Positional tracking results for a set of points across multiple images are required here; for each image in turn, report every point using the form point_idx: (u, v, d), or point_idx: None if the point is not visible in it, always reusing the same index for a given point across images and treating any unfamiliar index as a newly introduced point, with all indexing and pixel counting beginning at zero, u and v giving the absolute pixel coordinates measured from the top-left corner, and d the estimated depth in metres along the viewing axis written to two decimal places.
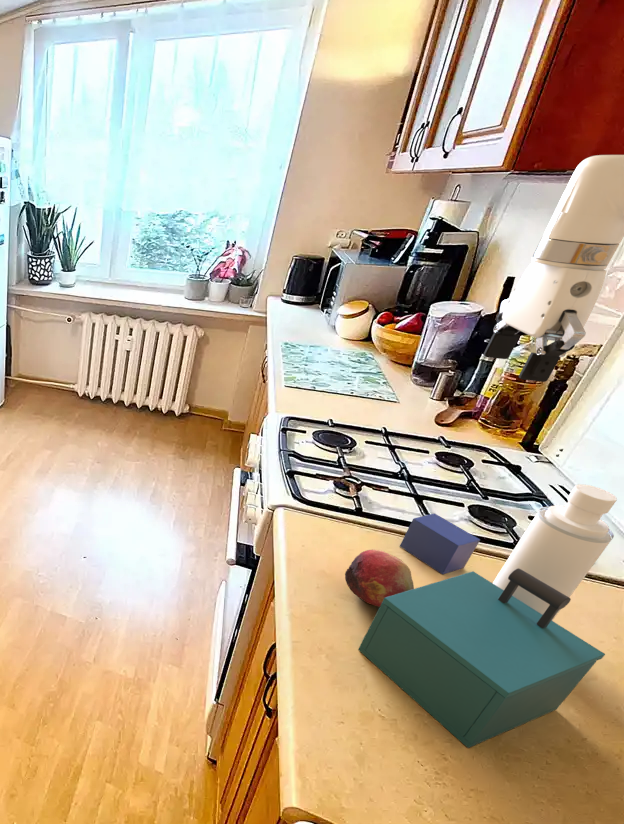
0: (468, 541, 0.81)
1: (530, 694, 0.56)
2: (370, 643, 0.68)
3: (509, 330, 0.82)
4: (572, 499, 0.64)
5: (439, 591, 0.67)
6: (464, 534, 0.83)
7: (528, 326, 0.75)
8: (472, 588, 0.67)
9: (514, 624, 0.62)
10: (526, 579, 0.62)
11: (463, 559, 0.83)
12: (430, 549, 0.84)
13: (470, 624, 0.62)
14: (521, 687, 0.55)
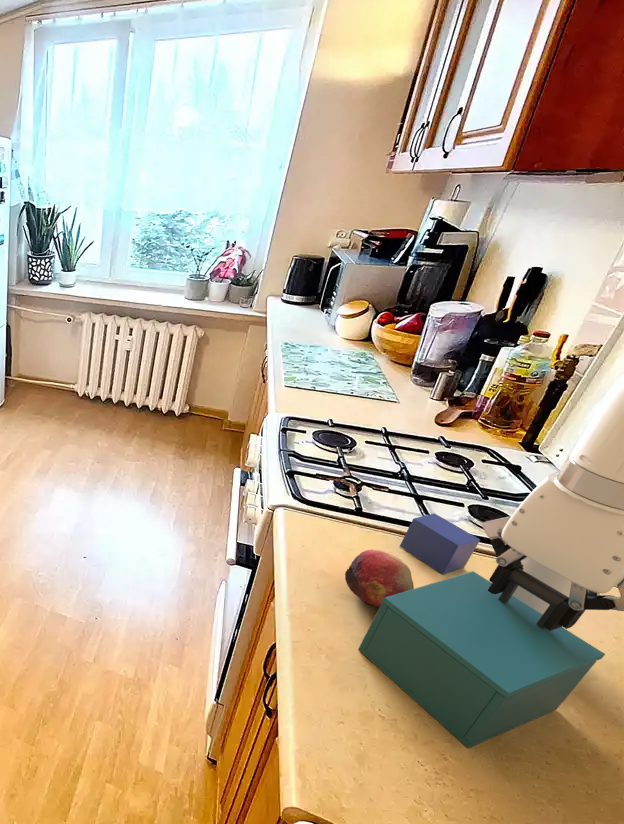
0: (468, 541, 0.81)
1: (530, 694, 0.56)
2: (370, 643, 0.68)
3: (516, 563, 0.64)
4: None
5: (439, 591, 0.67)
6: (464, 534, 0.83)
7: (574, 575, 0.57)
8: (472, 588, 0.67)
9: (514, 624, 0.62)
10: (526, 579, 0.62)
11: (463, 559, 0.83)
12: (430, 549, 0.84)
13: (470, 624, 0.62)
14: (521, 687, 0.55)
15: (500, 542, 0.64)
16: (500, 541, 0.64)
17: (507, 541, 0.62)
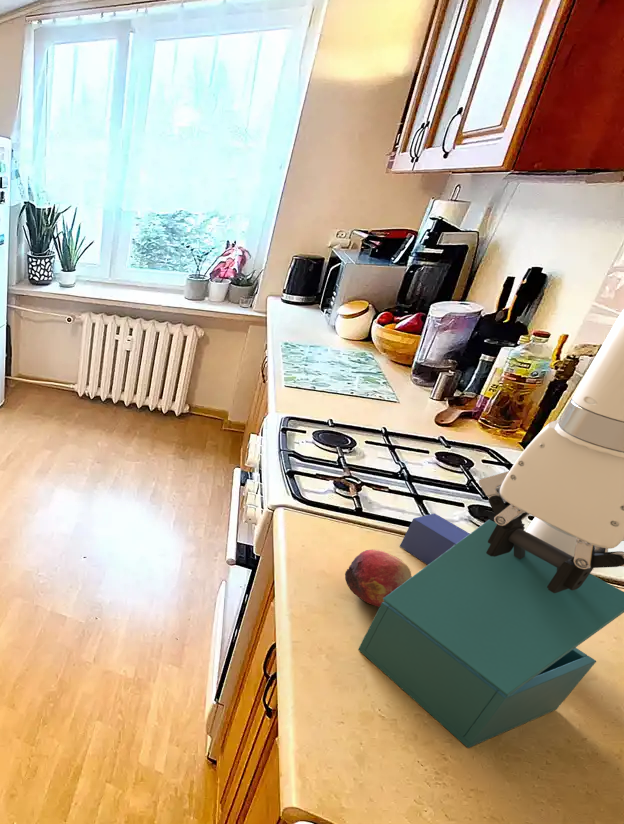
0: None
1: (530, 694, 0.56)
2: (370, 643, 0.68)
3: (516, 522, 0.59)
4: None
5: (445, 566, 0.64)
6: (464, 534, 0.83)
7: (579, 529, 0.52)
8: (484, 548, 0.63)
9: (528, 589, 0.58)
10: (524, 543, 0.58)
11: None
12: (430, 549, 0.84)
13: (475, 606, 0.60)
14: (523, 681, 0.54)
15: (498, 500, 0.59)
16: (498, 498, 0.59)
17: (506, 497, 0.58)
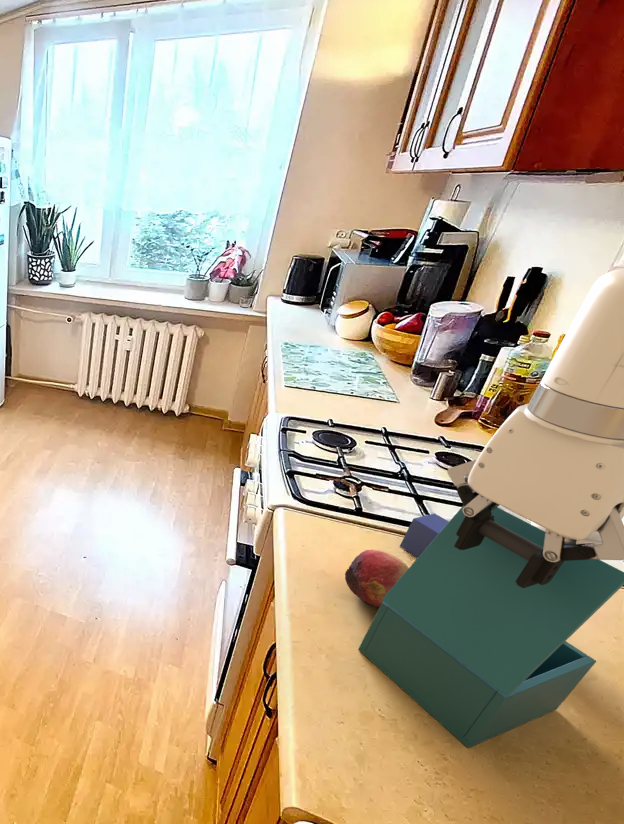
0: None
1: (530, 694, 0.56)
2: (370, 643, 0.68)
3: (485, 513, 0.55)
4: None
5: (435, 557, 0.62)
6: None
7: (548, 520, 0.49)
8: None
9: (517, 574, 0.56)
10: (493, 538, 0.55)
11: None
12: None
13: (468, 599, 0.58)
14: (519, 681, 0.53)
15: (467, 489, 0.56)
16: (467, 488, 0.56)
17: (474, 487, 0.54)
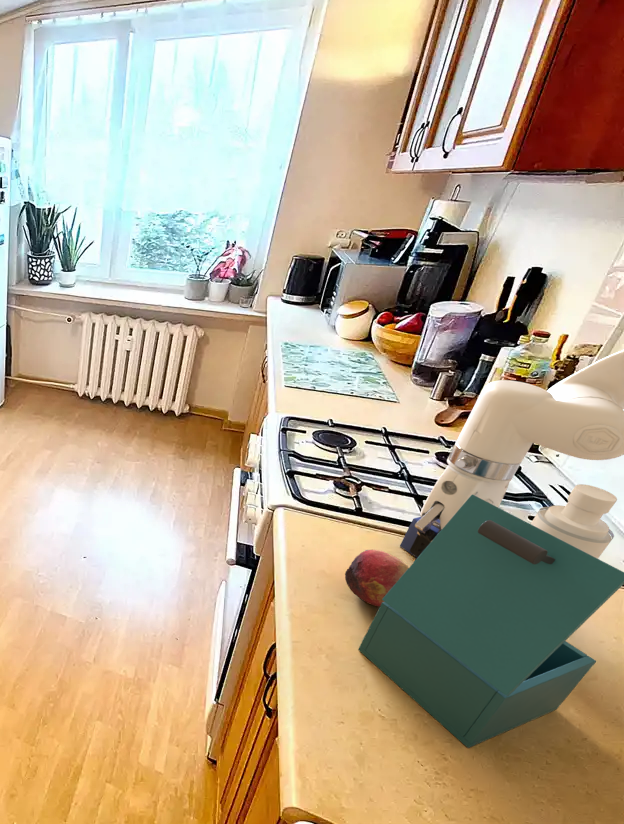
0: None
1: (530, 694, 0.56)
2: (370, 643, 0.68)
3: None
4: (572, 499, 0.64)
5: (434, 556, 0.62)
6: None
7: None
8: (470, 531, 0.60)
9: (517, 574, 0.56)
10: (492, 538, 0.55)
11: None
12: None
13: (467, 599, 0.58)
14: (519, 681, 0.53)
15: None
16: None
17: None
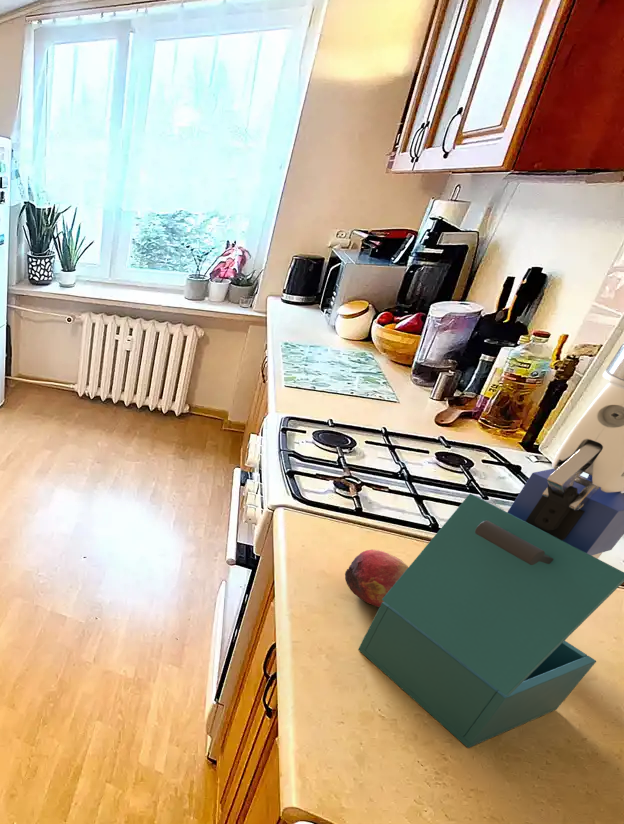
0: None
1: (530, 694, 0.56)
2: (370, 643, 0.68)
3: None
4: None
5: (433, 556, 0.62)
6: (619, 495, 0.53)
7: None
8: (468, 530, 0.60)
9: (515, 574, 0.55)
10: (489, 539, 0.54)
11: (616, 535, 0.53)
12: None
13: (467, 599, 0.58)
14: (519, 681, 0.53)
15: None
16: None
17: None
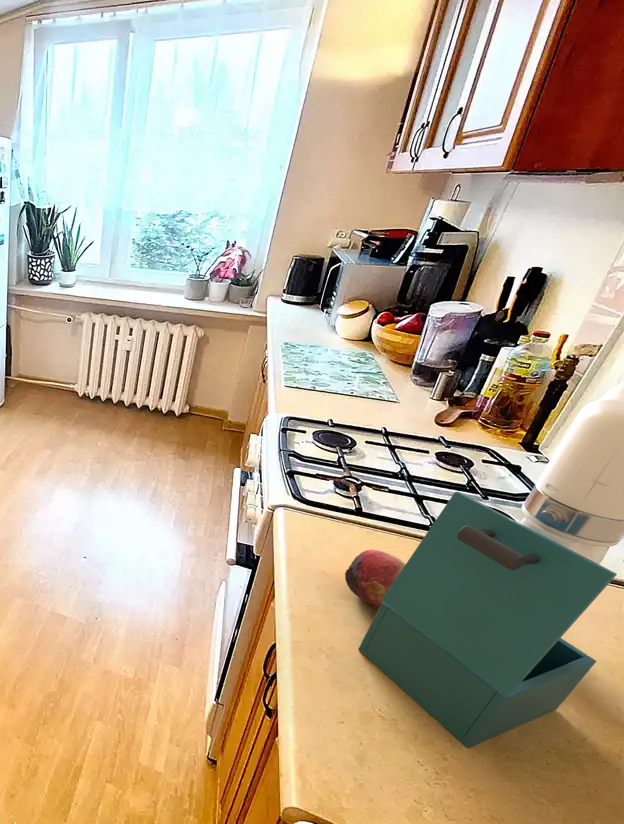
0: None
1: (530, 694, 0.56)
2: (370, 643, 0.68)
3: None
4: None
5: (426, 556, 0.61)
6: None
7: None
8: (456, 530, 0.59)
9: (505, 574, 0.55)
10: (471, 545, 0.54)
11: None
12: None
13: (461, 600, 0.58)
14: (516, 681, 0.53)
15: None
16: None
17: None
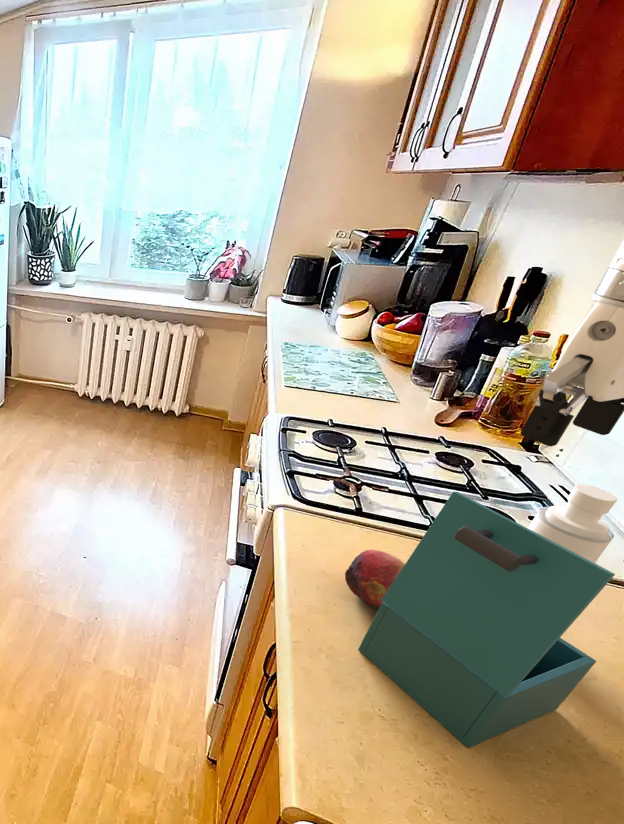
0: None
1: (530, 694, 0.56)
2: (370, 643, 0.68)
3: None
4: (572, 499, 0.64)
5: (425, 556, 0.61)
6: None
7: None
8: (455, 530, 0.59)
9: (503, 574, 0.55)
10: (468, 546, 0.54)
11: None
12: None
13: (460, 600, 0.58)
14: (516, 681, 0.53)
15: None
16: None
17: None
